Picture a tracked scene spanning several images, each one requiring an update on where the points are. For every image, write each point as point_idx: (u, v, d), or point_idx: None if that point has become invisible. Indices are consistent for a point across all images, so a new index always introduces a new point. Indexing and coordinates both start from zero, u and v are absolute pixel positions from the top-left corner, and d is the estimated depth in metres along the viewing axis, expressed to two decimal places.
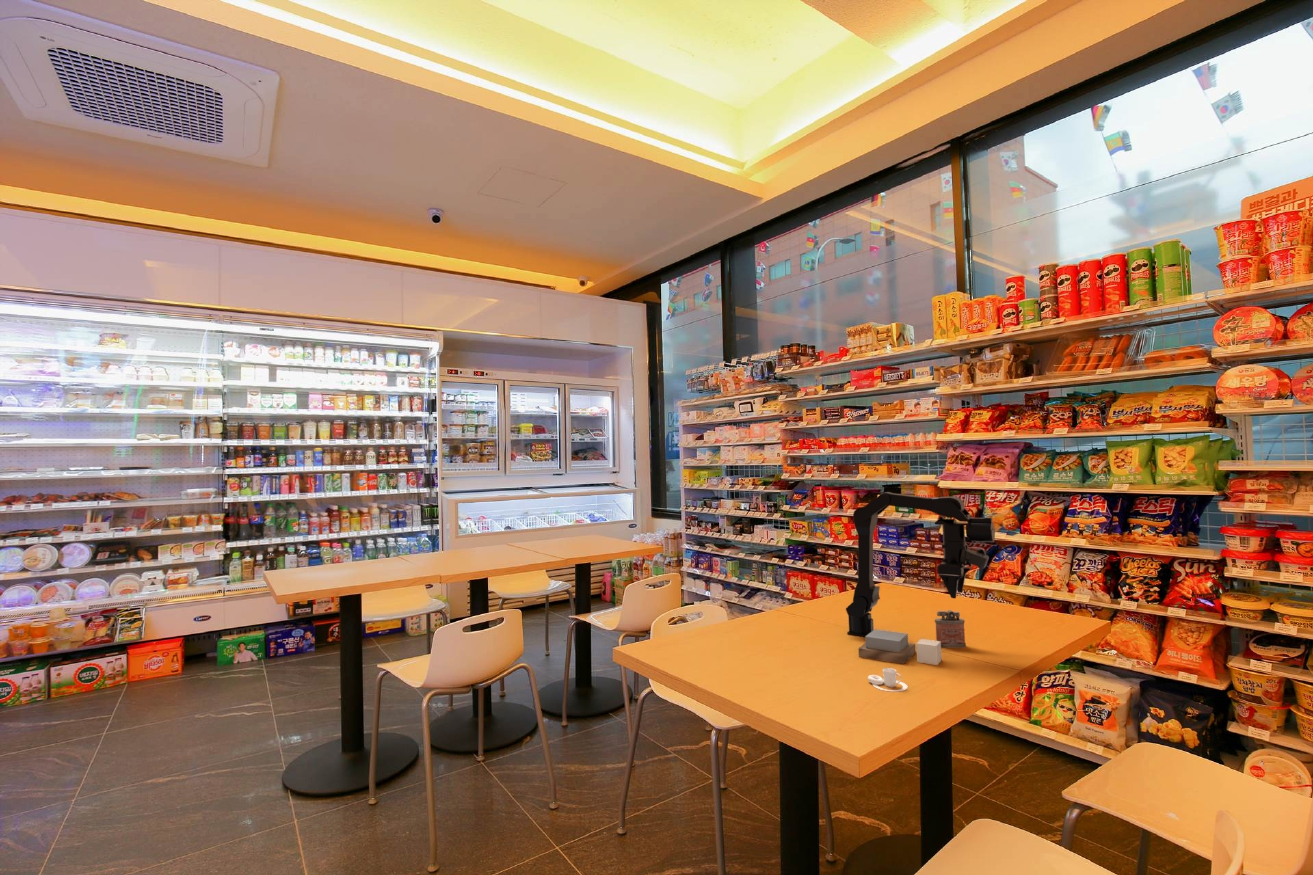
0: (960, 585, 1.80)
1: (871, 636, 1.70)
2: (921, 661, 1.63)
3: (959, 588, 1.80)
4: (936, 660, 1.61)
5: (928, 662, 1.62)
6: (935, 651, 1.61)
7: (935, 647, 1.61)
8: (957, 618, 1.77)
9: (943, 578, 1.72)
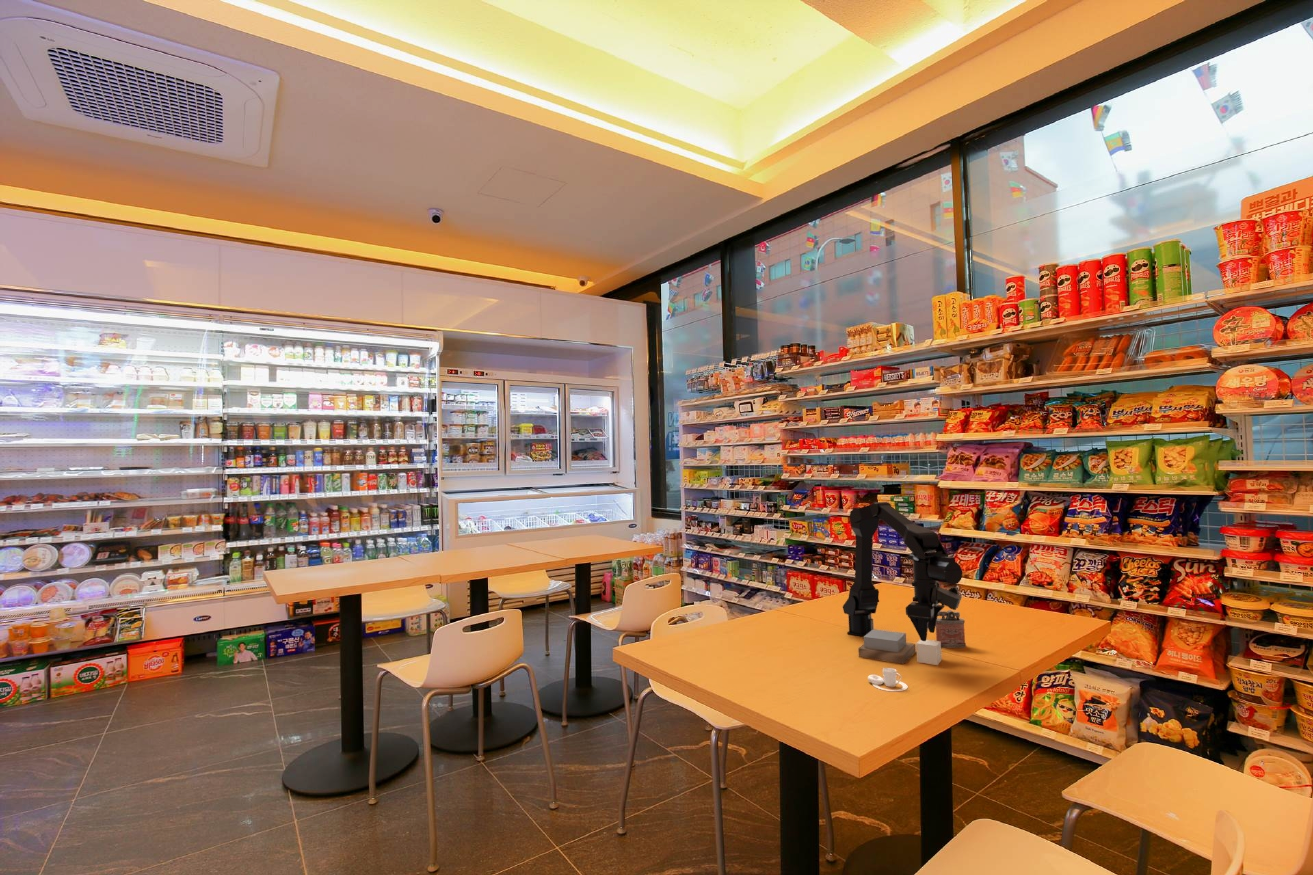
0: (932, 625, 1.68)
1: (869, 636, 1.70)
2: (921, 661, 1.63)
3: (931, 628, 1.68)
4: (936, 660, 1.61)
5: (928, 662, 1.62)
6: (935, 651, 1.61)
7: (935, 647, 1.61)
8: (957, 618, 1.77)
9: (912, 619, 1.61)
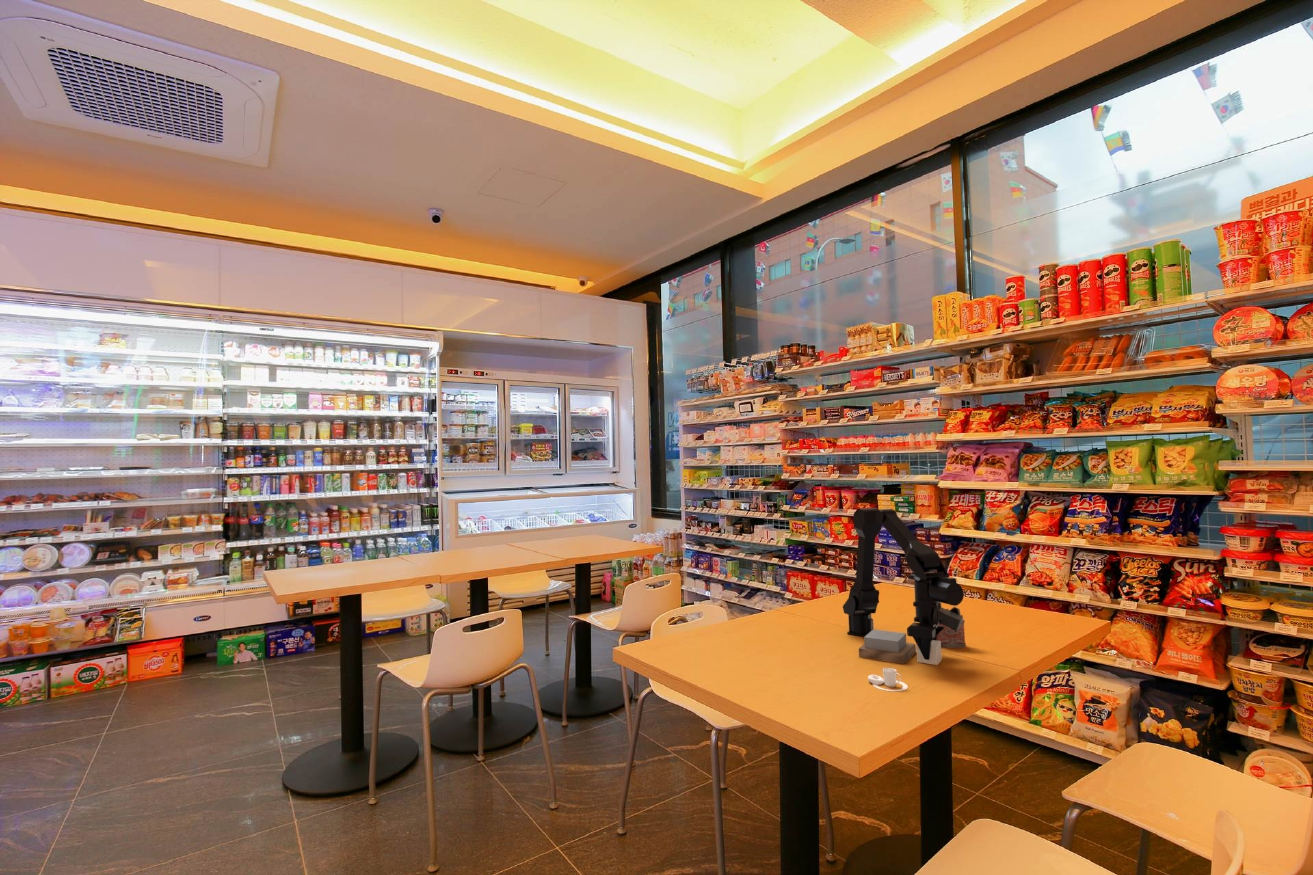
0: None
1: (870, 637, 1.70)
2: (921, 661, 1.63)
3: None
4: (936, 660, 1.61)
5: (928, 662, 1.62)
6: (935, 651, 1.61)
7: (935, 647, 1.61)
8: None
9: (916, 638, 1.62)
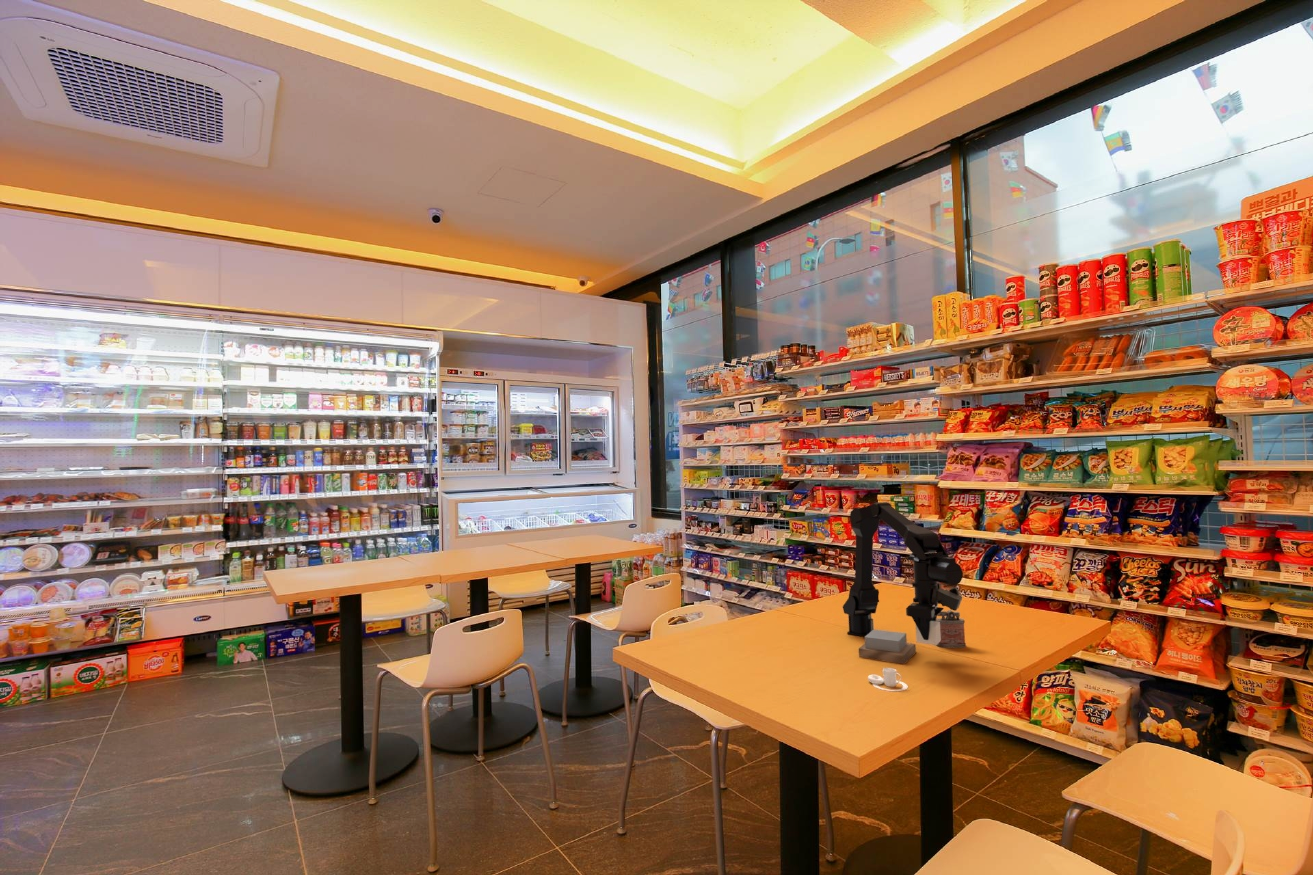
0: None
1: (870, 636, 1.70)
2: (920, 641, 1.63)
3: None
4: (935, 640, 1.61)
5: (927, 642, 1.62)
6: (934, 631, 1.61)
7: (934, 627, 1.61)
8: (957, 618, 1.77)
9: (915, 618, 1.62)
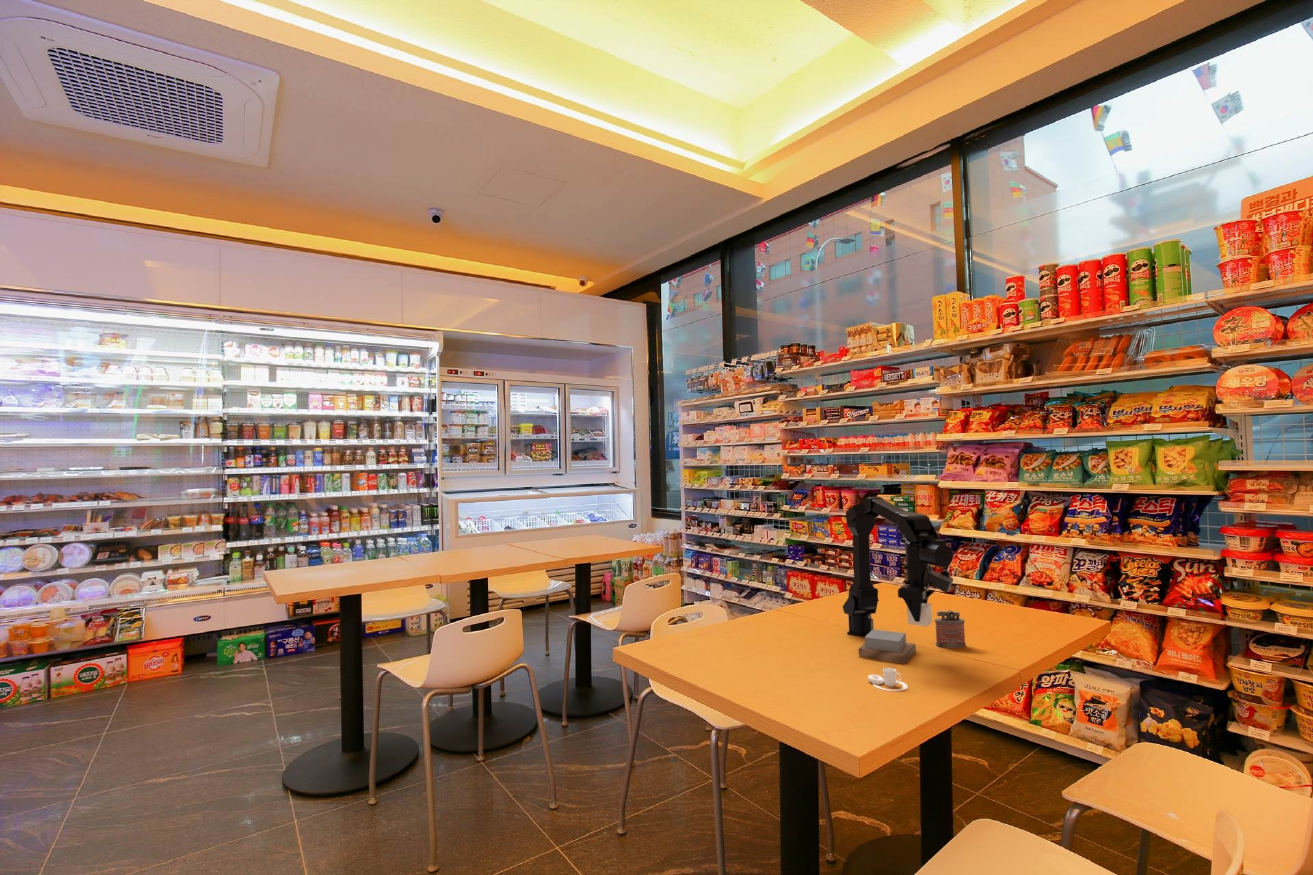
0: None
1: (870, 637, 1.70)
2: (912, 623, 1.65)
3: None
4: (926, 621, 1.63)
5: (918, 624, 1.64)
6: (925, 613, 1.63)
7: (925, 609, 1.63)
8: (957, 618, 1.77)
9: (906, 600, 1.64)
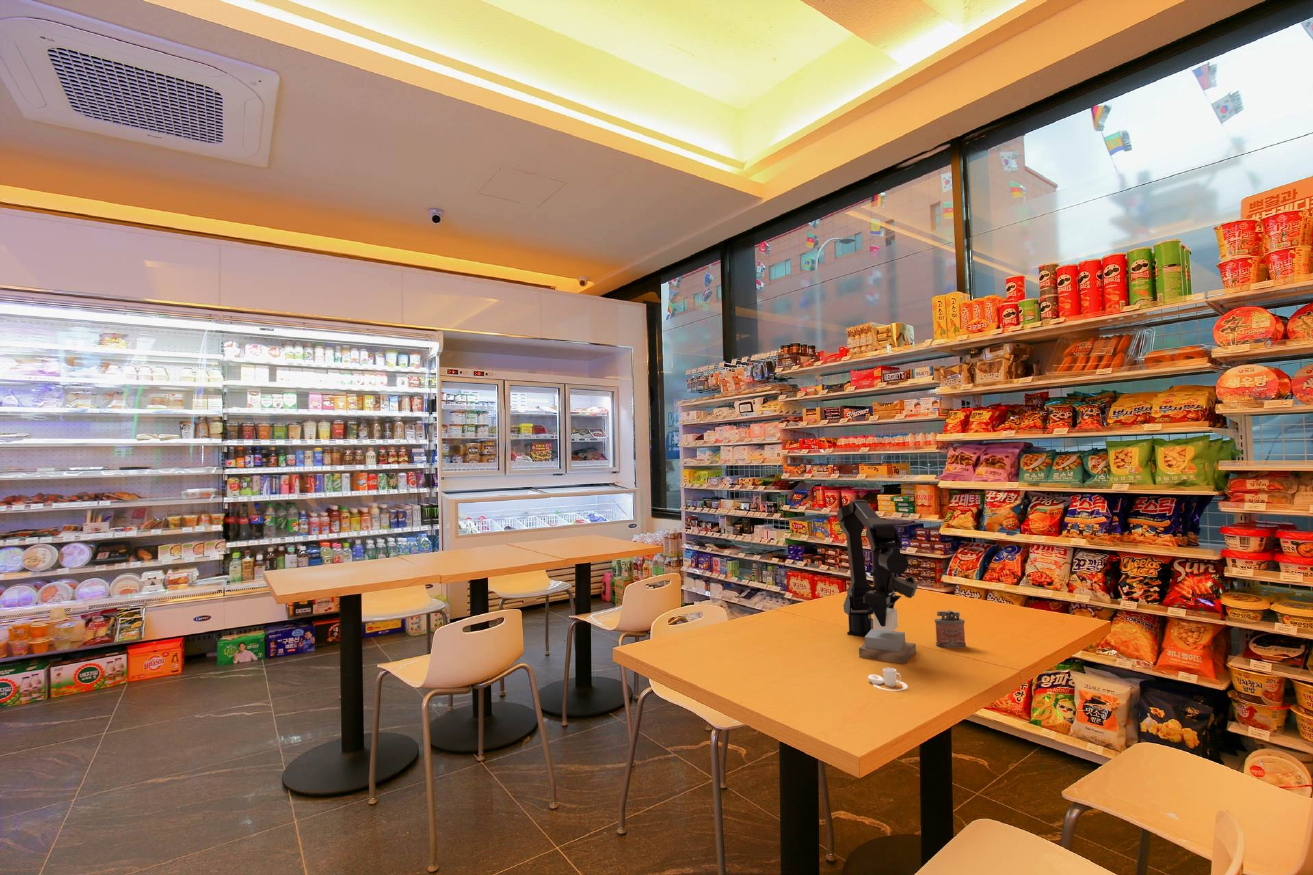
0: None
1: (870, 636, 1.70)
2: (878, 627, 1.70)
3: None
4: (891, 626, 1.68)
5: (884, 628, 1.69)
6: (890, 618, 1.68)
7: (891, 614, 1.68)
8: (957, 618, 1.77)
9: (872, 606, 1.69)
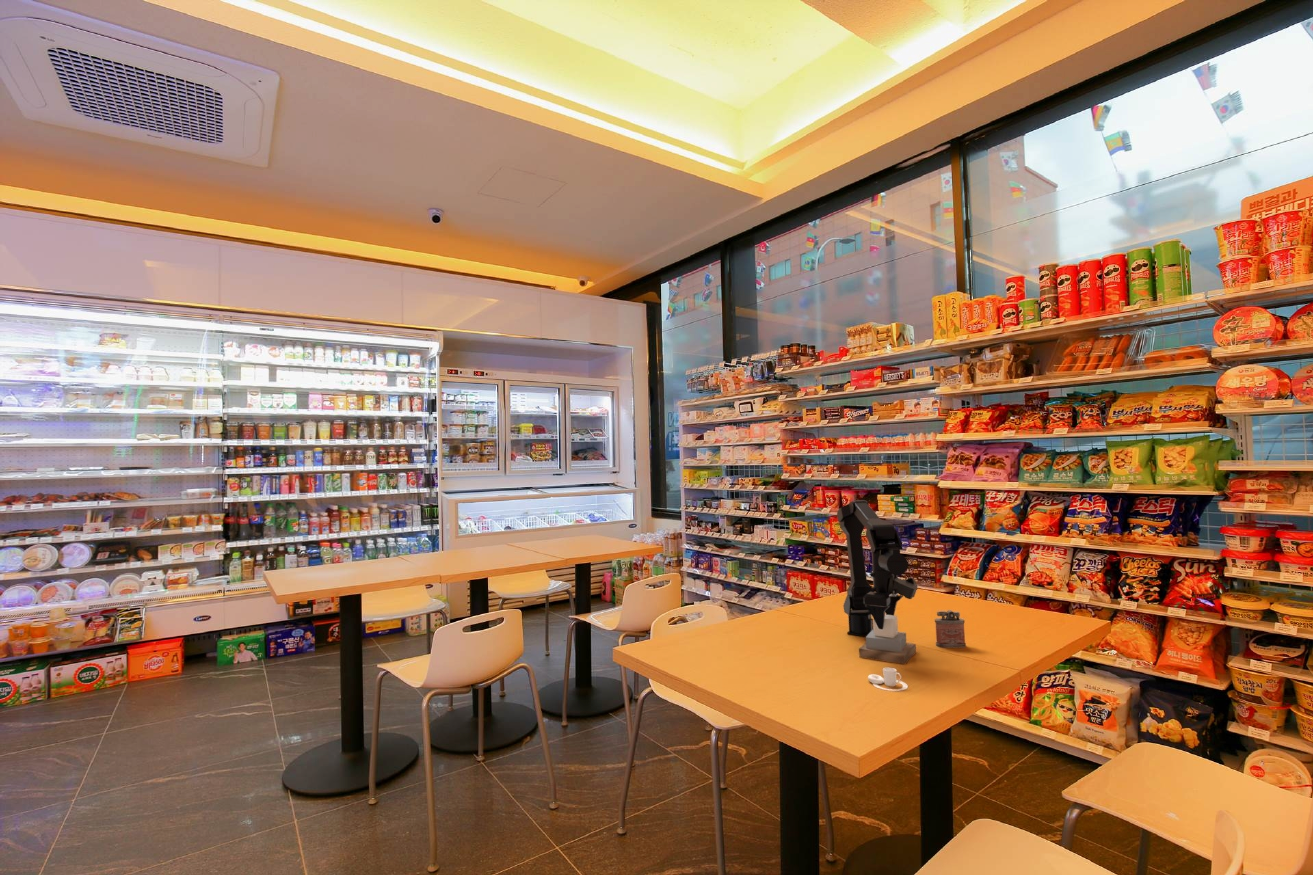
0: (891, 614, 1.75)
1: (871, 636, 1.70)
2: (878, 634, 1.70)
3: None
4: (892, 633, 1.68)
5: (884, 635, 1.69)
6: (891, 624, 1.68)
7: (891, 620, 1.68)
8: (957, 618, 1.77)
9: (870, 608, 1.67)
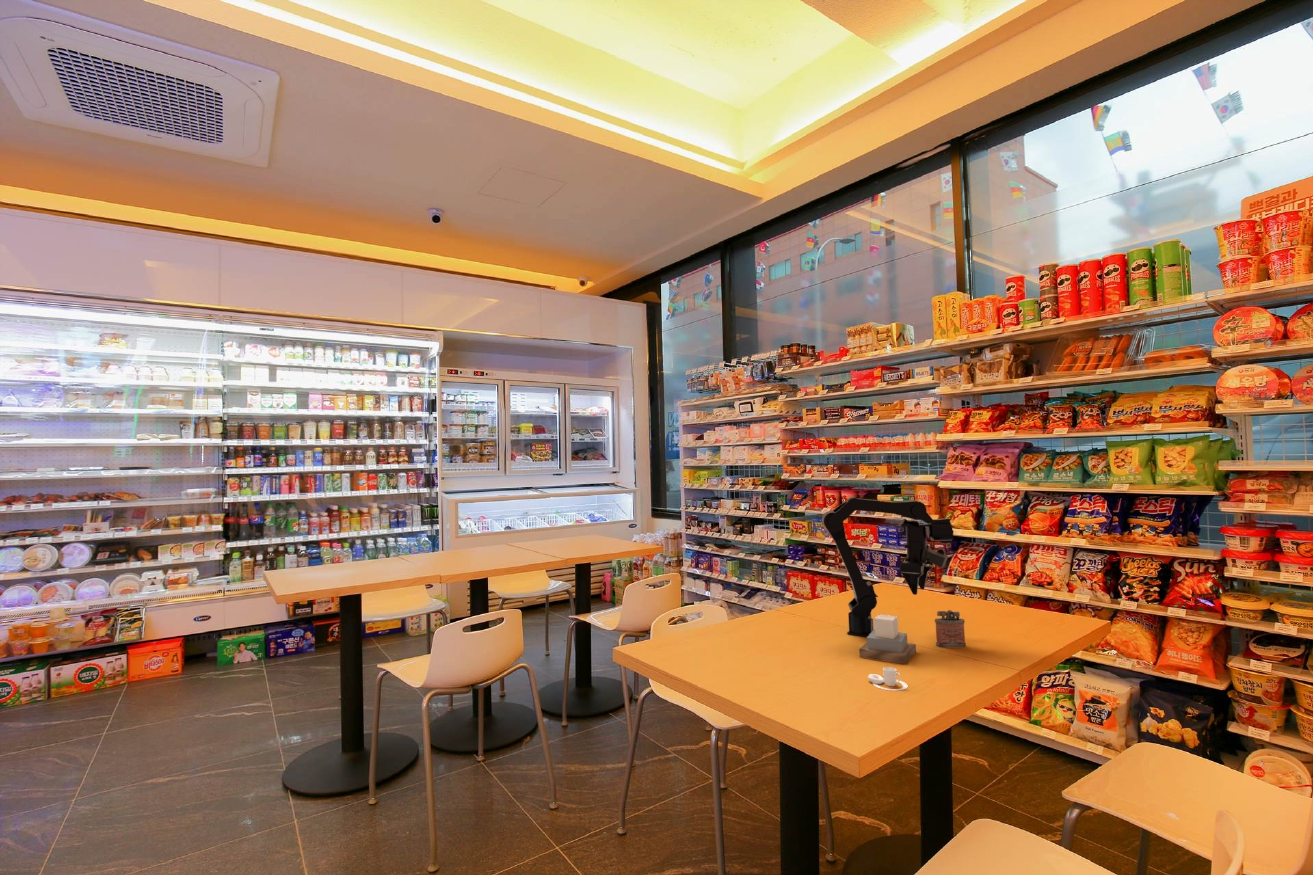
0: (922, 582, 1.93)
1: (872, 637, 1.70)
2: (878, 635, 1.70)
3: (922, 585, 1.93)
4: (892, 634, 1.68)
5: (884, 636, 1.69)
6: (891, 625, 1.68)
7: (891, 621, 1.68)
8: (957, 618, 1.77)
9: (905, 576, 1.86)
